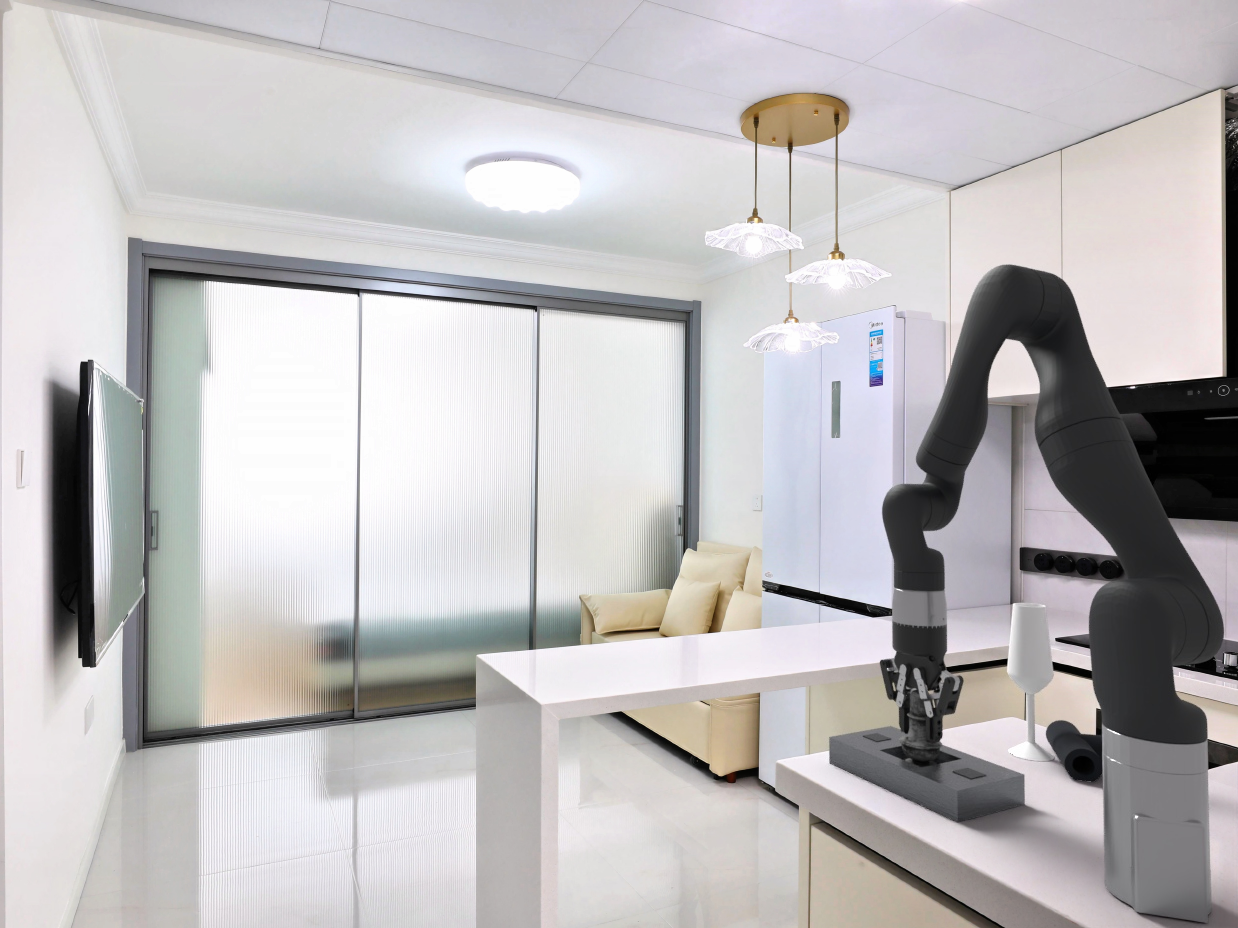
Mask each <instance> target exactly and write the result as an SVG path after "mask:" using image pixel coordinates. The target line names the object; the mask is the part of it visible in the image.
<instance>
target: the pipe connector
mask: <svg viewBox="0 0 1238 928" xmlns="http://www.w3.org/2000/svg"><path fill="white" fill-rule="evenodd" d="M1045 738H1046V740H1047V742H1048V744H1049V745H1050V746H1051V748H1052V750H1053V751H1054V754H1055V756H1056V757H1057V759H1058V760H1059V762H1060V763H1061V765H1062V767H1063V768H1064V770H1065V771H1066V774H1068V775H1069V777H1070V778H1071V779H1072V780H1074V781H1078V780H1082V782H1087V781H1091V782H1090V783H1094V782H1096V781H1097V780H1099V779H1100V778H1101V777H1102V776H1103V764H1102V734H1091V733H1090V734H1088V733H1082V732H1080V730H1079V729H1078V728H1077V726H1076V725H1074V724H1073V723H1072V722H1070V721H1067V720H1064V719H1059V720H1055V721H1052V722H1051V723H1049V724H1048V725H1047V728H1046V730H1045Z"/></svg>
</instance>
